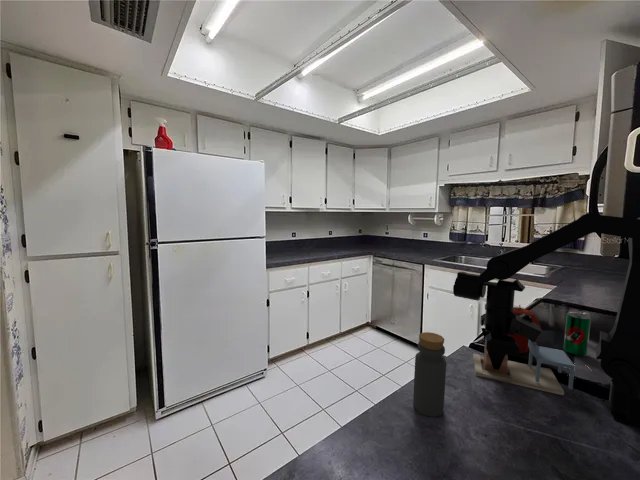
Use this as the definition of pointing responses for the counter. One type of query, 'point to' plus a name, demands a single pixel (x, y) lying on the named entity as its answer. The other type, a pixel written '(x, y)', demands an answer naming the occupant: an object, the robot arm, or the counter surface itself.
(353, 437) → the counter surface
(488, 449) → the counter surface
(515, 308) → the apple
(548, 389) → the board
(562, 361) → the light blue toy chair
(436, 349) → the bottle
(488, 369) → the block
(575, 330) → the soda can
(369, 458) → the counter surface
